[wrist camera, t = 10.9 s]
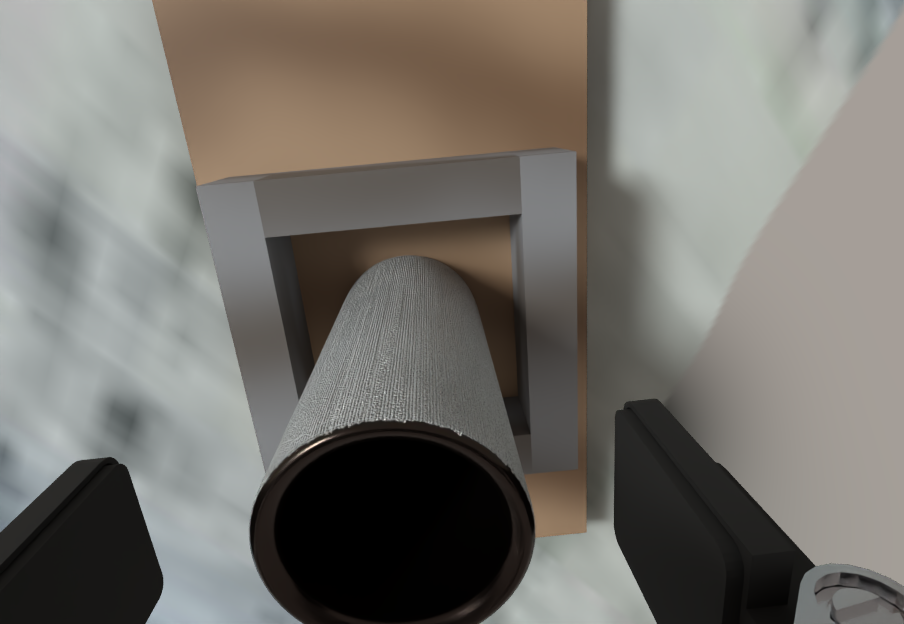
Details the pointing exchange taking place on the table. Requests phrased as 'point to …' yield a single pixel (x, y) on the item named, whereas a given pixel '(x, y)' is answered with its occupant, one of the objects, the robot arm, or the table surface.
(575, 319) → the socket board
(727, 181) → the table surface
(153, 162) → the table surface
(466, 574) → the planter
